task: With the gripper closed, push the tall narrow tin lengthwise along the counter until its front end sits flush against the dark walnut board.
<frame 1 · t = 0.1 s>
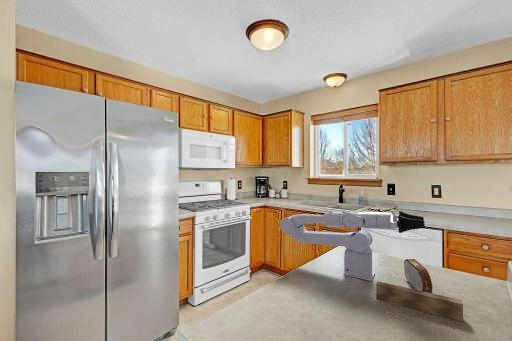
hand: (424, 222, 80), 22 cm above the counter, tool horizontal, fingers open, 7 cm apart
walnut board: (416, 307, 69), on the counter
tin: (416, 289, 80), on the counter
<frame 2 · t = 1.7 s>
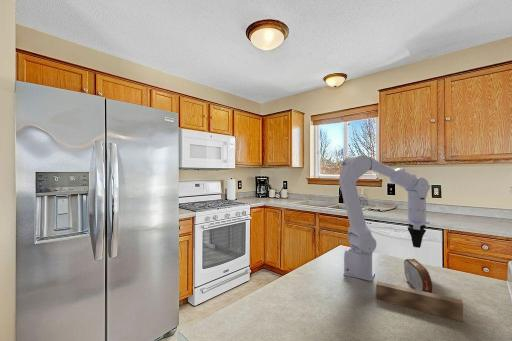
hand: (416, 245, 93), 10 cm above the counter, tool pointing down, fingers open, 6 cm apart
nothing on the counter moved.
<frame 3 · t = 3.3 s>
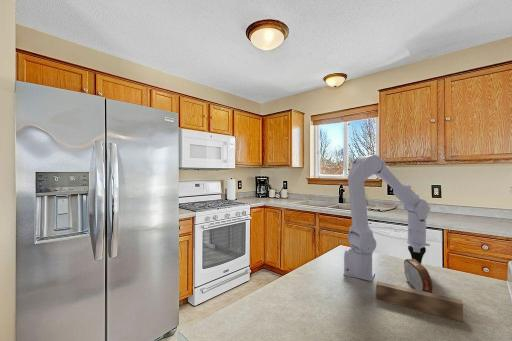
hand: (416, 266, 93), 2 cm above the counter, tool pointing down, fingers closed
nothing on the counter moved.
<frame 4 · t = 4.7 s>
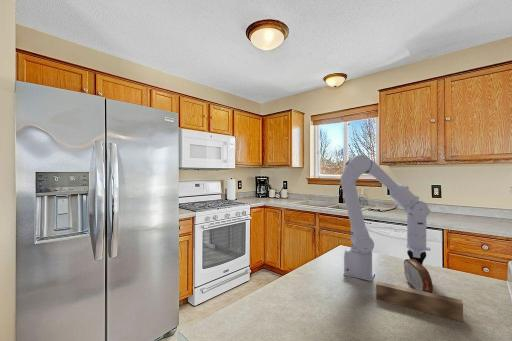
hand: (416, 272, 87), 2 cm above the counter, tool pointing down, fingers closed
tin: (416, 289, 80), on the counter, touching gripper
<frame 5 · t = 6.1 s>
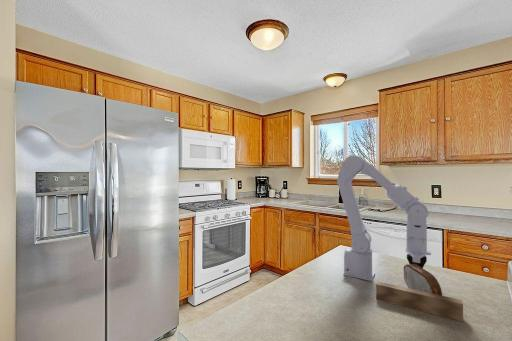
hand: (416, 277, 83), 2 cm above the counter, tool pointing down, fingers closed
tin: (420, 296, 75), on the counter, touching gripper
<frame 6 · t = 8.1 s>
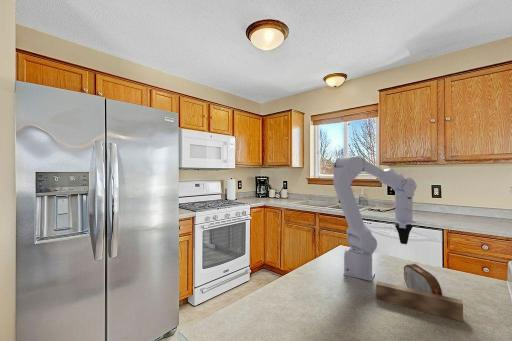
hand: (403, 243, 95), 10 cm above the counter, tool pointing down, fingers closed
tin: (420, 297, 75), on the counter
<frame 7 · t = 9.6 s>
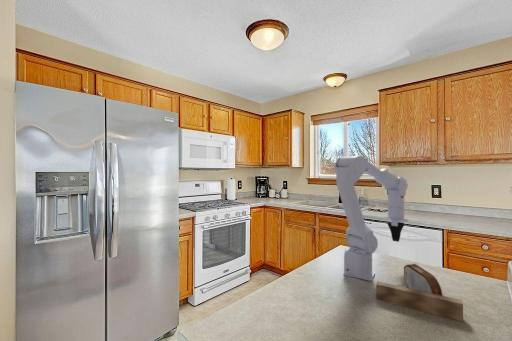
hand: (395, 240, 98), 10 cm above the counter, tool pointing down, fingers closed
nothing on the counter moved.
at the end: tin 1.3 cm from the target spot on the counter beside the walnut board, on the counter; tin tilted 0° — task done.
